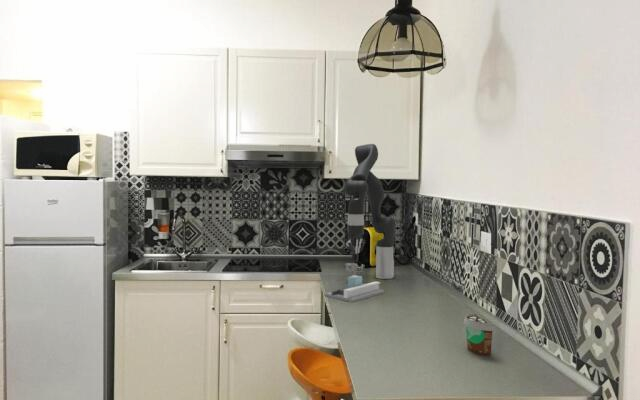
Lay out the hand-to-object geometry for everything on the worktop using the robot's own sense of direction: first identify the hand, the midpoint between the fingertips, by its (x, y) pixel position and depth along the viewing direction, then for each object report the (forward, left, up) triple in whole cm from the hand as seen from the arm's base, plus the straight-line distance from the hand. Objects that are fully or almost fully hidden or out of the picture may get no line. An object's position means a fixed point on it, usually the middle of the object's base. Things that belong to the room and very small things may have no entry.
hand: (355, 261), depth 215 cm
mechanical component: (-19, -15, -16) cm, 29 cm away
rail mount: (0, 0, -15) cm, 15 cm away
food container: (+32, +71, -16) cm, 79 cm away
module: (0, 0, -14) cm, 14 cm away
